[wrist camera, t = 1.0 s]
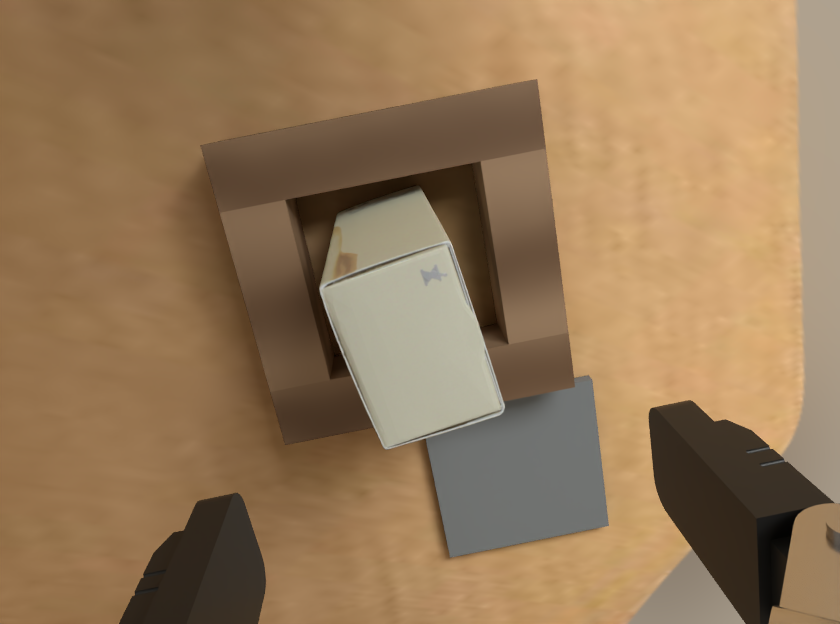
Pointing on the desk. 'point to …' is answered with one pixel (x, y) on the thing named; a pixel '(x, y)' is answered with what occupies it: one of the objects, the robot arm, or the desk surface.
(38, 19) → the desk surface
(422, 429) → the skincare box
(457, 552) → the mat
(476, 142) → the collar
